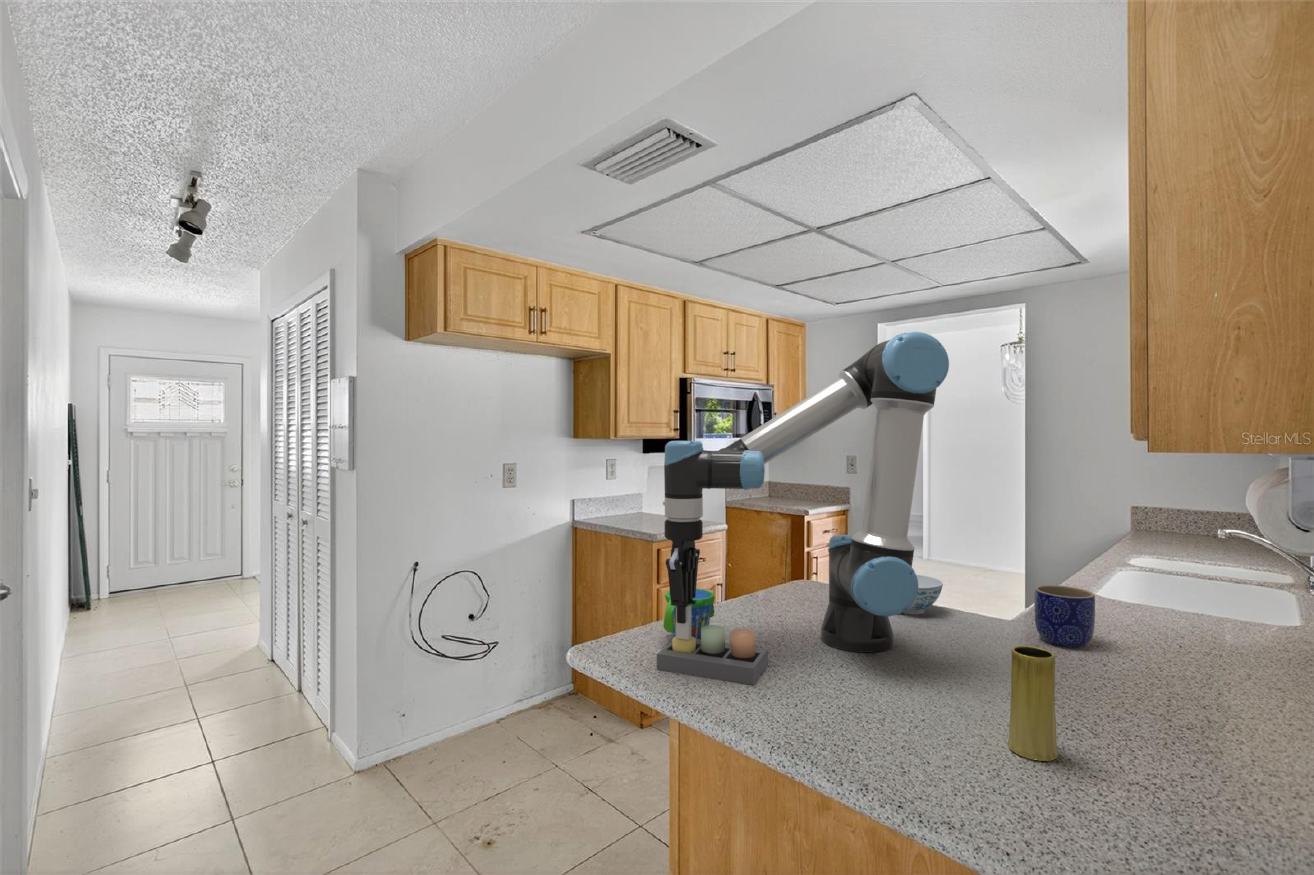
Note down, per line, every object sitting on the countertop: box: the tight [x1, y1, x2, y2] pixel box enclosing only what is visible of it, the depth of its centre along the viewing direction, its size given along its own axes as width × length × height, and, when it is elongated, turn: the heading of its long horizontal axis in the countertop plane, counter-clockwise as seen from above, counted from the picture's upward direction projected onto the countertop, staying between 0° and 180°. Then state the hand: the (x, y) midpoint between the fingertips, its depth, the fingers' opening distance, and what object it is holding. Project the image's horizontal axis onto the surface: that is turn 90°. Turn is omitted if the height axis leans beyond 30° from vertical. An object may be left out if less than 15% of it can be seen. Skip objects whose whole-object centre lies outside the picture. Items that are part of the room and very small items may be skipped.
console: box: [656, 639, 769, 686], centre depth 121 cm, size 19×11×3 cm, turn 66°
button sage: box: [701, 624, 726, 654], centre depth 121 cm, size 5×5×4 cm
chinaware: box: [901, 574, 943, 615], centre depth 159 cm, size 15×15×8 cm
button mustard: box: [671, 636, 696, 653], centre depth 124 cm, size 5×5×4 cm
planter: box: [1033, 584, 1096, 649], centre depth 134 cm, size 11×11×11 cm
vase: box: [1007, 645, 1059, 762], centre depth 89 cm, size 6×6×14 cm
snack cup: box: [663, 588, 716, 640], centre depth 137 cm, size 16×10×10 cm
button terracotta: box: [730, 628, 756, 658], centre depth 119 cm, size 5×5×4 cm
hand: (683, 637), depth 124 cm, fingers closed
